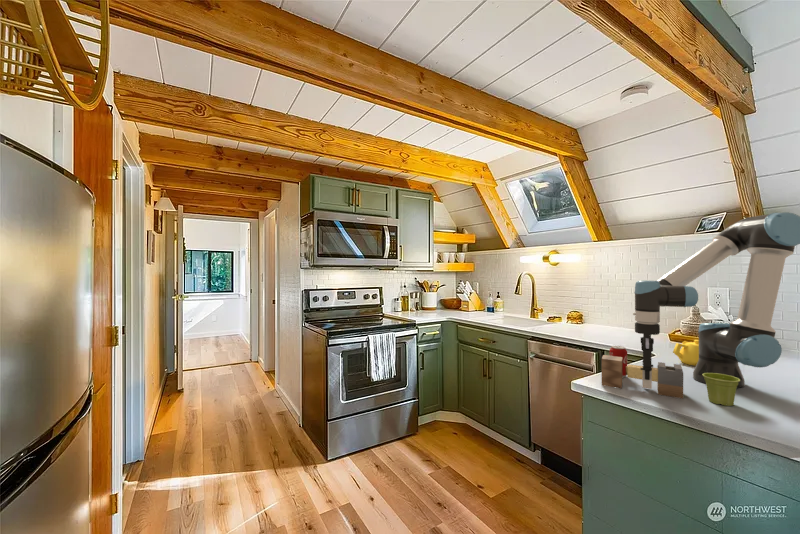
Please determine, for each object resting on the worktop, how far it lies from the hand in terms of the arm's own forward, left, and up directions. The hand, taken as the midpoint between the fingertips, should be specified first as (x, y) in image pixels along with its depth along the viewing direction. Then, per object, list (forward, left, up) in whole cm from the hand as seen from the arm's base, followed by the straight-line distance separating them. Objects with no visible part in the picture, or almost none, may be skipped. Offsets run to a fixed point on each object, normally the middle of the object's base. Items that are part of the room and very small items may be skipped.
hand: (646, 386), depth 131 cm
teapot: (-19, -58, -2) cm, 61 cm away
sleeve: (-7, 0, -1) cm, 7 cm away
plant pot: (-20, +1, -2) cm, 20 cm away
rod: (-1, 0, +3) cm, 3 cm away
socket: (+11, 0, -1) cm, 11 cm away
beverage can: (+10, -14, -2) cm, 17 cm away
